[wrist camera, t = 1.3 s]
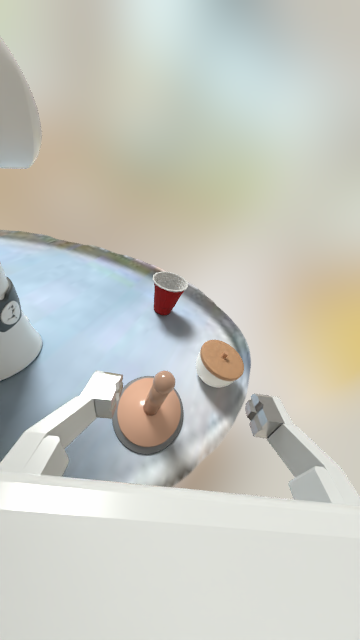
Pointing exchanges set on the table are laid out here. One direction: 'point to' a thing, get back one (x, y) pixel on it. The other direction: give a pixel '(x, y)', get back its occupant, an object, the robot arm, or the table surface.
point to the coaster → (138, 448)
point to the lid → (149, 410)
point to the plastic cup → (167, 291)
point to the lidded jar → (218, 364)
